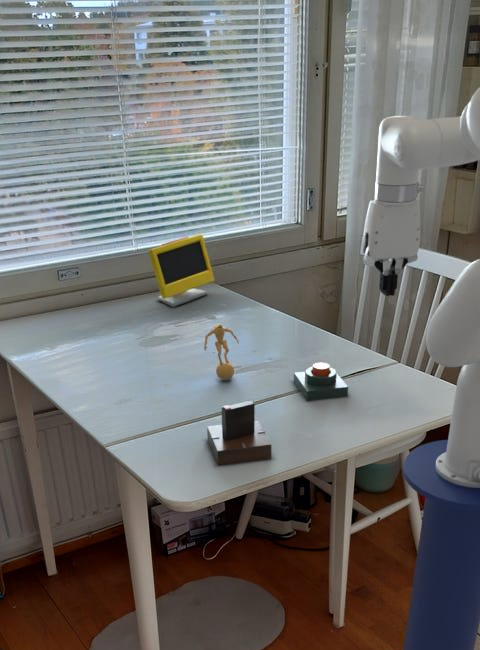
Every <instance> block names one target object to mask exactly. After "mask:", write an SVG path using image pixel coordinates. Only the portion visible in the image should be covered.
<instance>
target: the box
mask: <svg viewBox="0 0 480 650" xmlns="http://www.w3.org/2000/svg"><path fill="white" fill-rule="evenodd" d="M312 371H313V365H312V366H310V367H308V368H306V370H305V371H296V372H293V384H294V385H295V386H296V388H297V389H298V390H299V392H300V394H301V395H302V396H303V398H304V399H305V401H306V402H311V401H318V400H328V399H337V398H346V397H348V396H349V394H348V393H349V386H348V384H347V383H346V382H345V381H344V380H343V378H342V377H341V376H340V375H339V374H338V372H337V370H336V368H333V367H331V366H330V371H329V374H328V375H325V376H318V375H314V374H313V373H312Z"/></svg>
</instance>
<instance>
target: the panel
mask: <svg viewBox="0 0 480 650" xmlns="http://www.w3.org/2000/svg"><path fill="white" fill-rule="evenodd" d="M206 435H207V436H206V437H207V442H208V444H209V447H210V449H211V452H212V454H213V457H214V459H215V461H216V464H217V466H227V465H232V464H233V465H234V464H241V463H249V462H258V461H265V460H266V461H267V460H272V443H271V441H270V440H269V437H268V436H267V434H266V431H265V430H264V429H263V427H262V425H261V423H260V421H259V420H255V433H252V434H248V435H245V436H241V437H237V438H233V439H229V440H225V439H224V438H223V437H222V424H215V425H208V426H206Z"/></svg>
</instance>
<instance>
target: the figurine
mask: <svg viewBox="0 0 480 650" xmlns="http://www.w3.org/2000/svg"><path fill="white" fill-rule="evenodd" d="M225 333H230V334H231V335H232V337H233V339H235V340H236V343H237V344H238V345H240V341H239V339H238V338H237V335H236V334H235V333H234V332H233V330H231V329H230V328H226V327H224V326H223V325H222V324H216V325H214V327H213V329H211V330H210V331H209V332H208V333H207V334H205V338H204V346H203V349H204V351H205V352H206V351H207V350H208V346H207V343H208V338H209V337H210V336H212V335H213V334H214V337H215V338H216V339H215V340H216V341H215V342H214V346H215V347H216V351H217V352H218V353H217V357H218V361H219V364H218V365H217V367H216V370H215V371H216V372H215V373H216V376H217V378H218V379H220V380H222V381H229V380H231V379H232V378H233V377H234V375H235V368H234V365H233V364H232V363H231V362H230V361H229V360H228V357H227V355H228V354H229V351H230V349H229V347H228V343H227V340H226V339H224V337H225ZM222 349H224V352H223V356H224V357H223V358H224V360H225V361H223V359H222V357H221V356H222Z"/></svg>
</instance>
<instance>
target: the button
mask: <svg viewBox="0 0 480 650" xmlns="http://www.w3.org/2000/svg"><path fill="white" fill-rule="evenodd" d="M312 366H313V371H312V373H313V374H314V375H318V376H325V375H328V374H329V371H330V367H331V365H330V364H329V363H326V362H315V363H313V364H312Z"/></svg>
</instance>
